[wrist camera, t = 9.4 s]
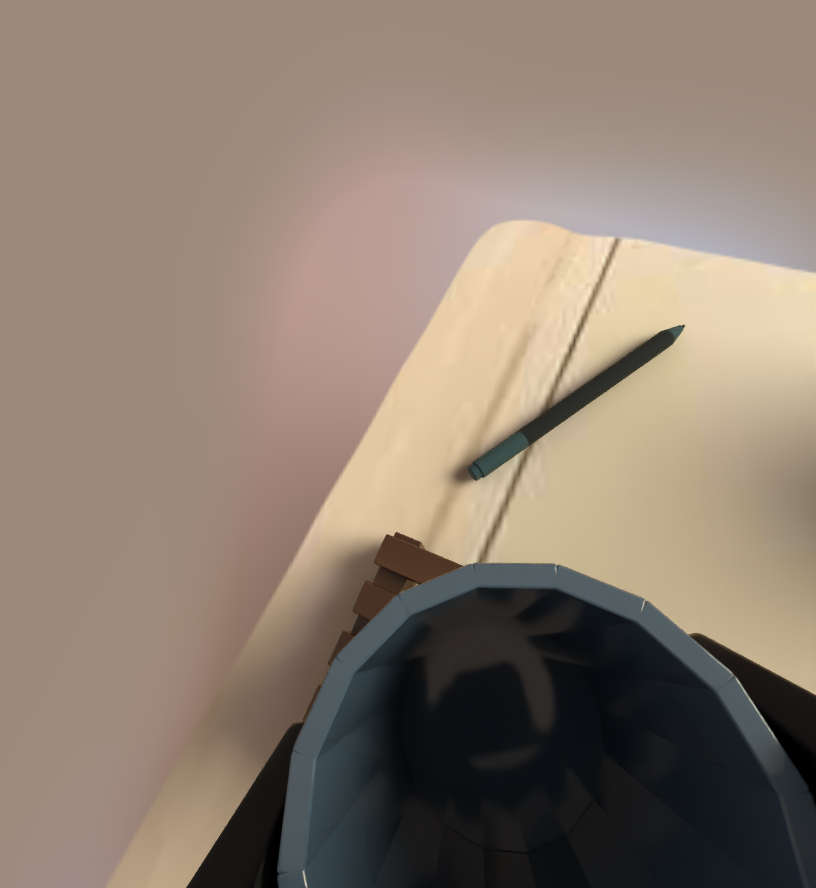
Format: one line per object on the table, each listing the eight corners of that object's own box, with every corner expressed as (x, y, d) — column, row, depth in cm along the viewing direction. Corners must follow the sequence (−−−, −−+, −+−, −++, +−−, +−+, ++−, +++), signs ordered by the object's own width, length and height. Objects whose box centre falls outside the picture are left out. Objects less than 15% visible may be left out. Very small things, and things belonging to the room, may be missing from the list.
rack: (578, 955, 15) (605, 1031, 12) (299, 773, 18) (267, 798, 15) (642, 641, 18) (673, 642, 16) (400, 540, 22) (389, 525, 19)
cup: (577, 919, 11) (841, 1625, 3) (358, 779, 13) (178, 992, 5) (633, 660, 14) (869, 687, 5) (440, 575, 15) (404, 502, 7)
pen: (687, 337, 25) (697, 324, 24) (477, 486, 23) (477, 478, 22) (672, 327, 25) (681, 313, 24) (465, 471, 23) (465, 463, 22)
